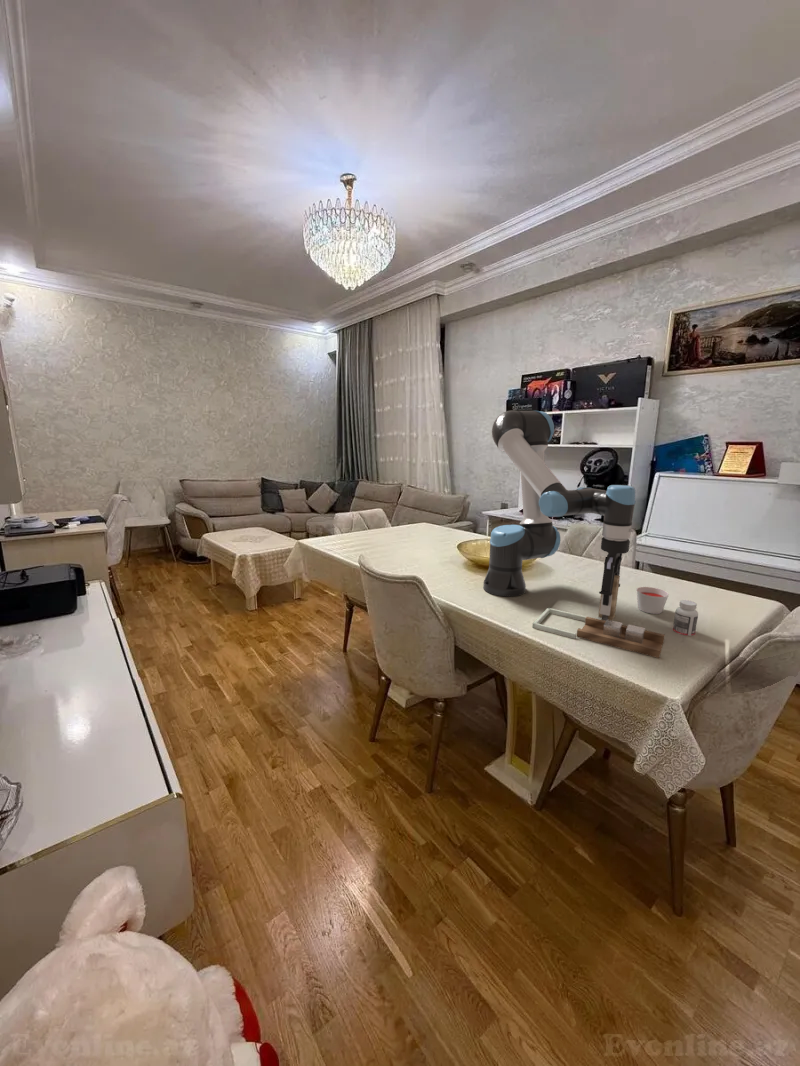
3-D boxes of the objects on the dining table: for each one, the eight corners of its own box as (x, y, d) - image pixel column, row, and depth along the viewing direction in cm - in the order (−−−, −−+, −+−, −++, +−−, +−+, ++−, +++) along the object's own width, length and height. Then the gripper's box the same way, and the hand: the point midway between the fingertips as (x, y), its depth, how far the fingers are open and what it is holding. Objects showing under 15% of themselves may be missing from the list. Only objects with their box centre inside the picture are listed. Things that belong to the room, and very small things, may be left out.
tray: (532, 630, 126) (532, 623, 125) (547, 614, 137) (547, 607, 136) (574, 642, 119) (575, 634, 119) (587, 624, 130) (587, 616, 130)
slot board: (576, 639, 120) (577, 630, 120) (585, 625, 129) (586, 616, 128) (658, 661, 109) (660, 651, 108) (663, 644, 117) (664, 634, 117)
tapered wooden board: (596, 621, 132) (601, 578, 128) (601, 613, 137) (606, 572, 134) (611, 624, 129) (616, 581, 126) (615, 616, 135) (620, 574, 132)
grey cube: (602, 637, 119) (603, 624, 118) (605, 632, 123) (607, 619, 122) (618, 641, 117) (619, 628, 116) (620, 636, 120) (622, 623, 119)
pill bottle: (685, 629, 126) (690, 598, 124) (699, 638, 121) (704, 606, 119) (668, 630, 126) (672, 599, 124) (680, 638, 121) (685, 606, 118)
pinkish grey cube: (624, 643, 116) (626, 629, 115) (626, 637, 119) (628, 624, 118) (641, 647, 114) (643, 633, 113) (643, 641, 117) (645, 628, 116)
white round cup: (657, 604, 144) (659, 587, 143) (671, 616, 136) (674, 597, 134) (629, 604, 145) (631, 586, 143) (642, 615, 136) (644, 596, 135)
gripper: (623, 547, 117) (614, 624, 123) (635, 533, 133) (626, 602, 138) (594, 543, 122) (586, 618, 127) (609, 530, 137) (601, 597, 143)
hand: (607, 610), depth 133 cm, fingers closed on tapered wooden board, 7 cm apart
